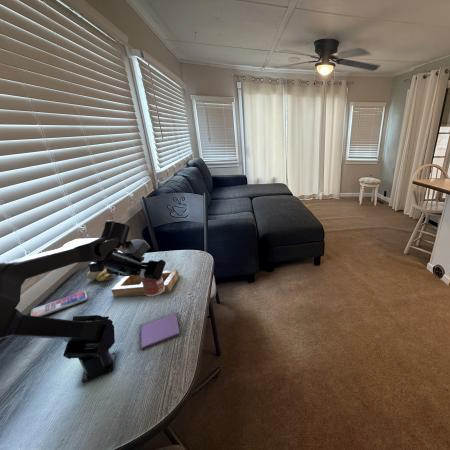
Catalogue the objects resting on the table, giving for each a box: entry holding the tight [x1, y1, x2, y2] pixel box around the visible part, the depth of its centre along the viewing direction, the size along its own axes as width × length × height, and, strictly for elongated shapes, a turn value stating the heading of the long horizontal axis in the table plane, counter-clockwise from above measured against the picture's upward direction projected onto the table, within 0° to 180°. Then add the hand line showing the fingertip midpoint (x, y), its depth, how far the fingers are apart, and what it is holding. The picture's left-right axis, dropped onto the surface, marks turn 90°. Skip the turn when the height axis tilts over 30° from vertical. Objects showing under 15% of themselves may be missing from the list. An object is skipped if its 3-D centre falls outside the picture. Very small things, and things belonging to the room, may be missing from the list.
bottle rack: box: [110, 269, 180, 298], centre depth 97 cm, size 11×20×4 cm, turn 97°
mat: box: [140, 313, 180, 349], centre depth 75 cm, size 10×10×1 cm
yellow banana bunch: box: [86, 268, 116, 282], centre depth 104 cm, size 10×6×15 cm
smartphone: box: [30, 290, 88, 317], centre depth 88 cm, size 7×1×15 cm
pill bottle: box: [140, 261, 165, 297], centre depth 83 cm, size 6×6×11 cm
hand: (154, 273), depth 84 cm, fingers closed on pill bottle, 6 cm apart
